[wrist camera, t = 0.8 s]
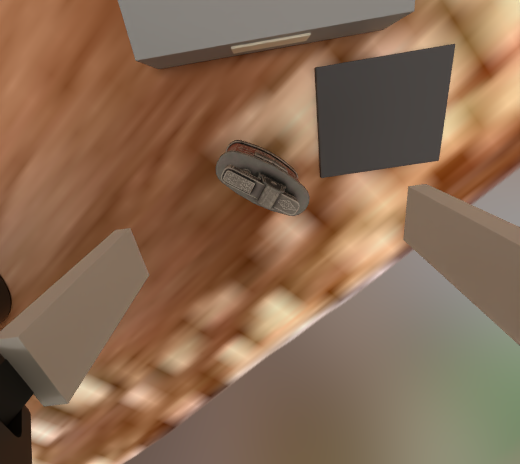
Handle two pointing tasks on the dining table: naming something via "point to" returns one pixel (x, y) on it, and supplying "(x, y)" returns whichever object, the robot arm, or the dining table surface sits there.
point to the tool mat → (382, 110)
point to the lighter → (262, 178)
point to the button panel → (245, 25)
